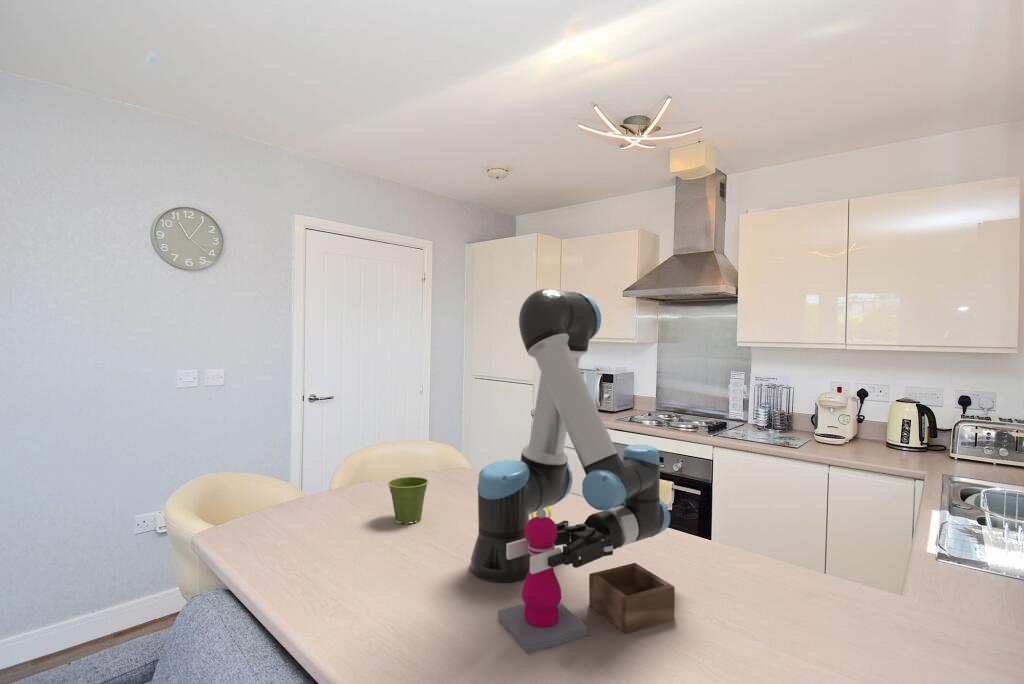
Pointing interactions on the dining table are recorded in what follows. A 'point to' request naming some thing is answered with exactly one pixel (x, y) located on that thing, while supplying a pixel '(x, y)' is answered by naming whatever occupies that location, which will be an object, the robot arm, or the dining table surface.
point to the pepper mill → (541, 574)
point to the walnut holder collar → (631, 597)
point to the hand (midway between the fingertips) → (519, 558)
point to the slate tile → (541, 628)
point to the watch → (548, 512)
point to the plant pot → (408, 497)
